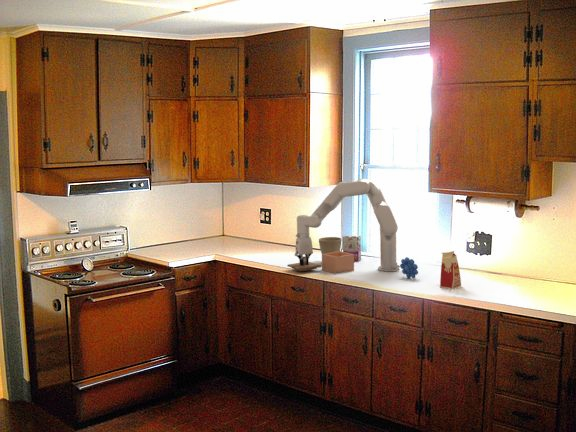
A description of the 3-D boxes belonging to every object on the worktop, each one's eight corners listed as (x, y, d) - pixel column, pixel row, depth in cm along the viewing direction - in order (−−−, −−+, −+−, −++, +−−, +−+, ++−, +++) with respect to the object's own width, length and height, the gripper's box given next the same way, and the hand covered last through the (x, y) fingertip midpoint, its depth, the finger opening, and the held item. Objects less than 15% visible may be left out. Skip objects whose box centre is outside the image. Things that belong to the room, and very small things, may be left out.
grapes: (396, 278, 375) (396, 257, 374) (402, 275, 380) (402, 255, 379) (414, 280, 368) (414, 259, 366) (420, 278, 373) (420, 257, 371)
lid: (321, 268, 399) (320, 257, 398) (300, 272, 391) (300, 260, 390) (307, 264, 412) (307, 253, 411) (287, 268, 404) (287, 256, 403)
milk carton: (461, 286, 352) (461, 249, 349) (453, 289, 345) (453, 252, 342) (446, 284, 358) (446, 248, 355) (437, 287, 351) (437, 250, 348)
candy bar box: (361, 260, 428) (361, 235, 426) (358, 261, 424) (358, 236, 422) (345, 259, 434) (345, 234, 431) (342, 260, 429) (342, 236, 427)
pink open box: (354, 270, 398) (353, 254, 397) (335, 273, 391) (335, 257, 390) (340, 266, 410) (339, 251, 409) (322, 269, 403) (321, 253, 401)
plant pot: (320, 260, 431) (320, 236, 429) (343, 260, 428) (342, 237, 426) (317, 265, 416) (317, 240, 414) (340, 265, 413) (340, 240, 411)
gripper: (295, 237, 391) (296, 267, 394) (317, 234, 400) (318, 264, 402) (288, 236, 398) (289, 265, 400) (310, 233, 406) (311, 262, 409)
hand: (304, 264), depth 401 cm, fingers closed on lid, 3 cm apart
